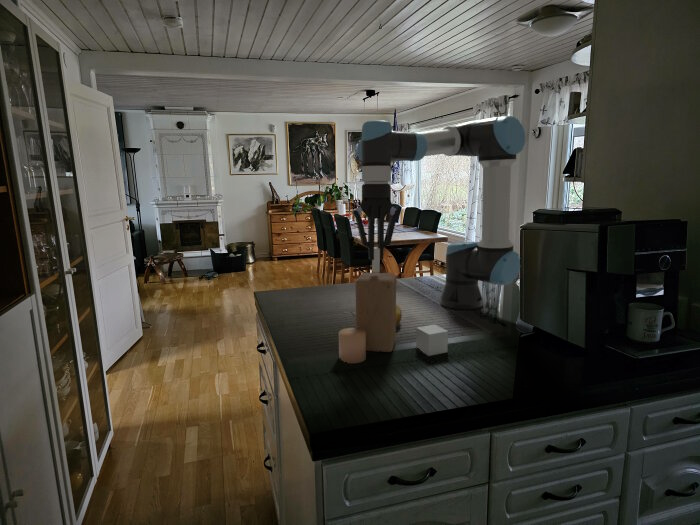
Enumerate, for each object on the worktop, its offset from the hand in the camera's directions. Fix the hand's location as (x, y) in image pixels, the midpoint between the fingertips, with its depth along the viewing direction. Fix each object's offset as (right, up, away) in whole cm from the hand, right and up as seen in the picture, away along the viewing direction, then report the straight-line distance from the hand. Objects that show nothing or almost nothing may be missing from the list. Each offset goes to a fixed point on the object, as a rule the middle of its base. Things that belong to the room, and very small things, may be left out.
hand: (375, 271), depth 117 cm
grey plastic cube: (+15, -22, 0) cm, 26 cm away
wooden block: (0, -21, +4) cm, 22 cm away
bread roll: (+5, -18, +23) cm, 29 cm away
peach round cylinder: (-6, -23, -4) cm, 24 cm away
